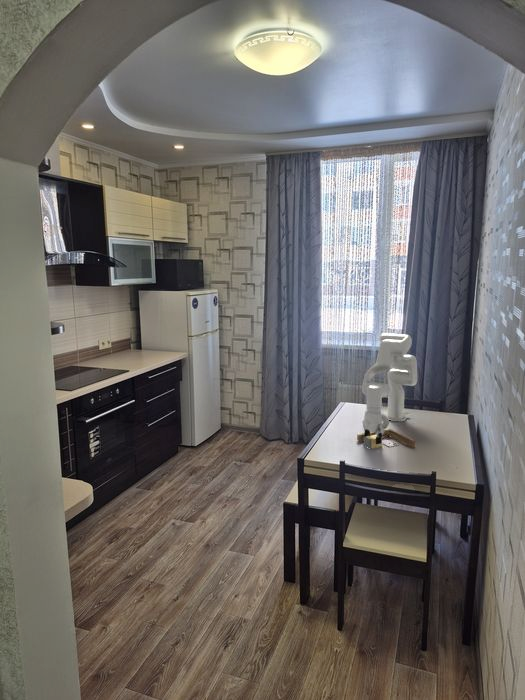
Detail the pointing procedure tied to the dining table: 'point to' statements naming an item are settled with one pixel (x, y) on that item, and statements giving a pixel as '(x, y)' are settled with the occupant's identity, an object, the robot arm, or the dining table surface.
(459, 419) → the dining table surface
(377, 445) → the bar block
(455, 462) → the dining table surface
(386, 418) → the donut
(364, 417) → the robot arm
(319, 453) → the dining table surface
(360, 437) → the tan wooden angled piece
